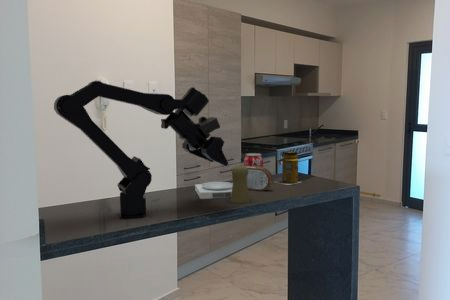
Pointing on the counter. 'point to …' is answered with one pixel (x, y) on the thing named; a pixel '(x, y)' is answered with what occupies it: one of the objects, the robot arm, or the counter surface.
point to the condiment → (289, 168)
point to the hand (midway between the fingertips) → (220, 162)
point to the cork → (240, 185)
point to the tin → (258, 178)
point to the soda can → (253, 160)
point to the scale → (214, 190)
